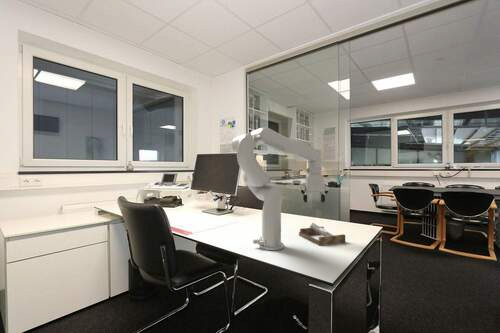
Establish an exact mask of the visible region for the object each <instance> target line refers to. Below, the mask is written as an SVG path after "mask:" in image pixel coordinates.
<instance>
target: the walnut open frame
mask: <svg viewBox="0 0 500 333" xmlns="http://www.w3.org/2000/svg"><path fill="white" fill-rule="evenodd" d="M320 227H321V228H323V229H325V227H324V226H320ZM313 235H314V236H315V235H321V234H320V233H318V232H317V231H315V230H313V229H312V228H310V227H303V228H302V227H301V228H299V232H298V236H299V237H301V238H303V239H304V240H307V241H308V242H311V243H313V244H315V245H317V246H327V245H335V244H343V243H344V244H345V243H346V234H344V233H343V234H334V235H333V234H332V235H333V236H319V237H318V239H317V238H314V237H313Z"/></svg>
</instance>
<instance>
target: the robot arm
mask: <svg viewBox="0 0 500 333" xmlns="http://www.w3.org/2000/svg"><path fill="white" fill-rule="evenodd" d="M230 144H231V145H230V147H231V149H232V150H233V151H234V152H236V159H237V164H238V165H239V167H240V169H241V170H242V171H243V182H244V183H245V185H246V186H247V188H248V189H249V190H250V192H252V194H253V195H254V196H255V197H256V198H257V199H258V200H260V201H262V202H263V206H262V210H261V211H262V212H261V221H262V222H261V230H262V231H261V236H260V238H258V239H253V240H252V244H254V245H258V247H259V248H260V249H262V250H265V251H279V250H282V249H284V248H285V243H284V242H282V203H283V202H282V201H283V196H284V195H283V194H284V193H283V190H282V188H281V187H280V185H278V184H275V183H269V181H270V180H269V175H268V173H267V172H266V171H265V169H264V168H263V166H262V165H261V164H260V163H259V161H258V160H257V158H256V156H255V148H256V147H259V146H262V145H264V146H266V147H268V148H270V149H271V150H272V149H273V150H274V151H277V152H278V153H282V154H291V155H293V158H294V160H295V161H296V162H298V163H305V162H307V168H305V170H304V172H306V175H305V180H304V184H301V185H300V186H298V189H299V192H300V193H301V194H302V195H303V197H302V199H303V202H304V203H307V202H308V195H307V194H308V193H309V192H310V193H320V194H321V195H320V202H321V203H322V204H323V203H325V201H326V195H327V194H328V193H329V191H330V189H331V188H330V187H329V186H328V185H326V184H325V178H324V174H323V172H322V170H323V168H322V166H323V162H322V161H323V152H322V150H321V149H319V148H315V147H314V146H312V145H310V144H308V143H306V142H304V141H301V140H297V139H295V138H290V137H287V136H284V135H283V134H281V133H279V132H277V131H275V130H273V129H271V128H269V127H267V126H264V127H263V126H262V127H260V128H256V129H255V130H254V129H253V130H252V131H249V132H247V133H244V134H243V133H242V134H240V135H238V136H235V137H234V138H233V139H232V140H231V143H230ZM303 188H304V190H303Z"/></svg>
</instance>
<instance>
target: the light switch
mask: <svg viewBox="0 0 500 333" xmlns="http://www.w3.org/2000/svg"><path fill="white" fill-rule="evenodd" d="M321 227H322V226H319V225H318V224H316V223H314V222H312V223H311V224H310V225H309V228H312V229H313V230H315V231H317V232H318V233H320V234H319V235H321V236H322V237H324V236H333V234H332V233H330V232H329V231H327V230H326V229H325V228H324V229H323V228H321Z"/></svg>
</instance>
